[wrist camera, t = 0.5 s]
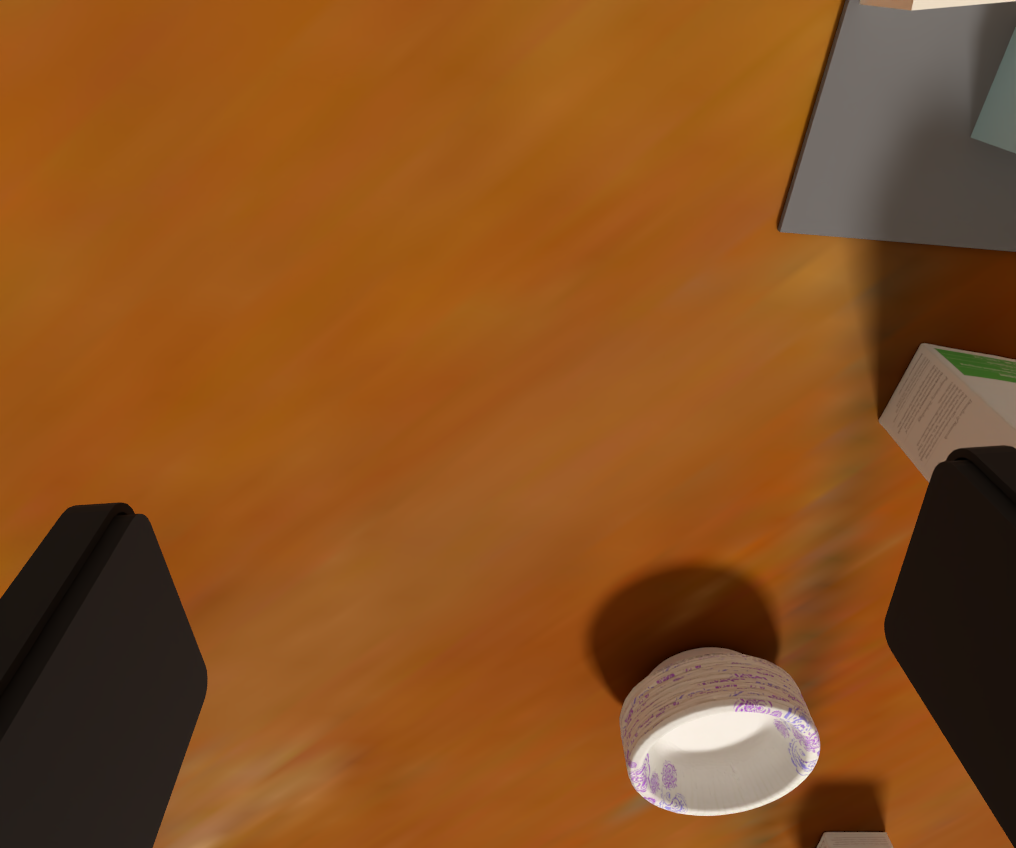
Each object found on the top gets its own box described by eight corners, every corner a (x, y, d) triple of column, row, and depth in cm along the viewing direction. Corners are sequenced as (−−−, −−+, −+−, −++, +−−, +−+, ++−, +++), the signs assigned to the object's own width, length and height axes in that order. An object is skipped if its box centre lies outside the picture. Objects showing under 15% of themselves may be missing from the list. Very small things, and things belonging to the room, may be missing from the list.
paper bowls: (577, 705, 65) (591, 790, 59) (688, 597, 59) (717, 680, 52) (706, 754, 70) (732, 838, 64) (822, 660, 64) (864, 742, 57)
